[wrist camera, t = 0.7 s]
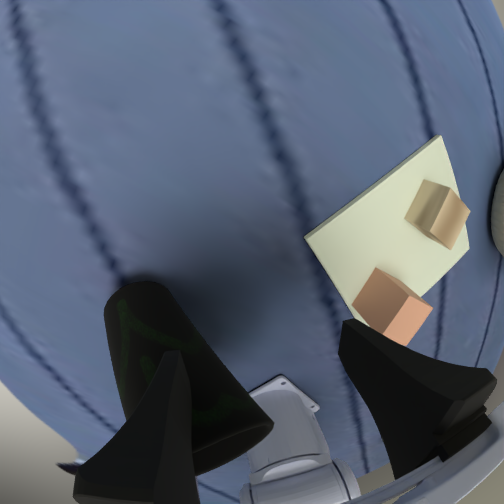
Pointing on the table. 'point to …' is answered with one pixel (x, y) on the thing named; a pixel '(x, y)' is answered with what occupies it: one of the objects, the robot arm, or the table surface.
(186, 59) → the table surface
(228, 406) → the cup
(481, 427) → the robot arm
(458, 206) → the beech brick
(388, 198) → the plate
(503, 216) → the canister
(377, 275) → the terracotta brick
